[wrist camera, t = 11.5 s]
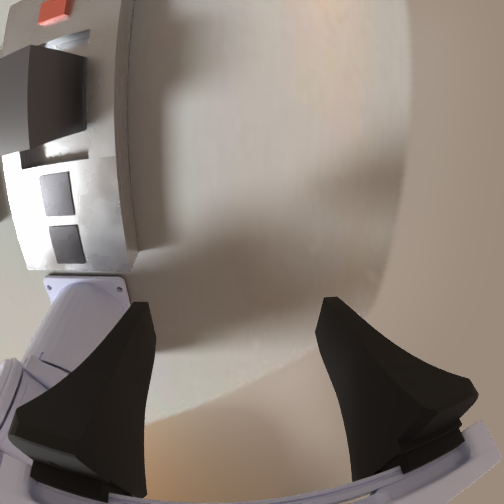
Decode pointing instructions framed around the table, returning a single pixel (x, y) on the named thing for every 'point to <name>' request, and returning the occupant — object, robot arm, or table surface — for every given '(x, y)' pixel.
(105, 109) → the power strip
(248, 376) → the table surface
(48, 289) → the robot arm
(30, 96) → the plug
